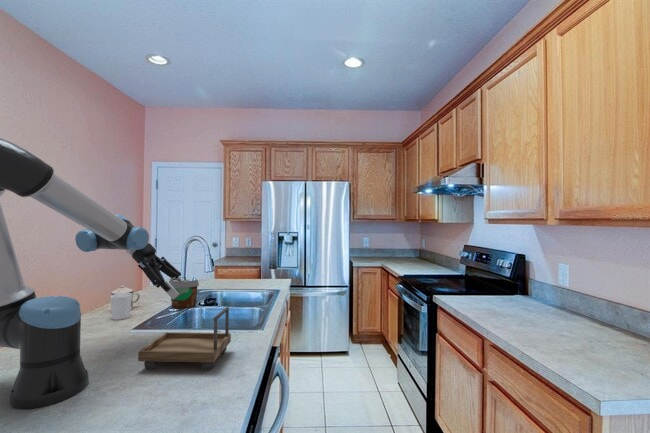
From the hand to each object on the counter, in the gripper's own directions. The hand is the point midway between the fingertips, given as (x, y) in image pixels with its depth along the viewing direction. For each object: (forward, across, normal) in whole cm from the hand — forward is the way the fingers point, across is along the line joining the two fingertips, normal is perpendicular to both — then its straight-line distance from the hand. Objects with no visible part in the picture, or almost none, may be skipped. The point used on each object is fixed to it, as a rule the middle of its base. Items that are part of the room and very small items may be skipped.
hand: (182, 293), depth 115 cm
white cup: (-16, -23, -39) cm, 48 cm away
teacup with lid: (-20, -35, -43) cm, 59 cm away
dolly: (+19, +17, -5) cm, 26 cm away
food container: (+3, +1, -4) cm, 5 cm away
